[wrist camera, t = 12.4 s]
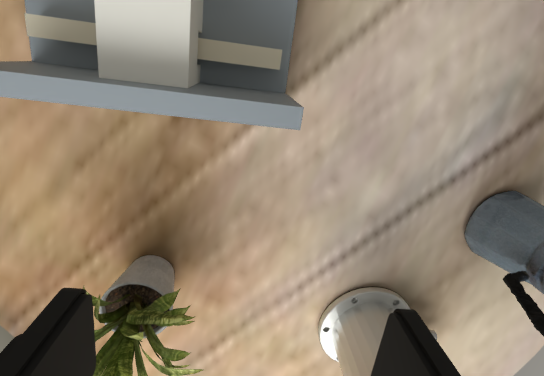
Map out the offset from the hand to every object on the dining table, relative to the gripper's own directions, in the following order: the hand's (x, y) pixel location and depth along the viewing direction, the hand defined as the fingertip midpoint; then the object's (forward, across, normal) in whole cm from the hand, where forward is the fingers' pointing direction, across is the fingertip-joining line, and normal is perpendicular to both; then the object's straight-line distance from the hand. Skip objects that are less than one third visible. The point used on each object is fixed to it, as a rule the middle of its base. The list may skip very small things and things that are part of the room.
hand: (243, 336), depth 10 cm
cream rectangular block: (+23, +8, -12) cm, 27 cm away
